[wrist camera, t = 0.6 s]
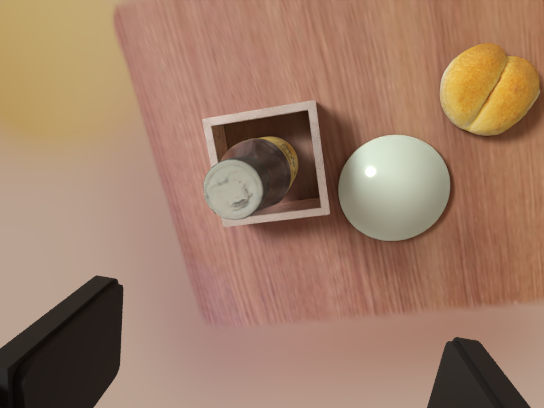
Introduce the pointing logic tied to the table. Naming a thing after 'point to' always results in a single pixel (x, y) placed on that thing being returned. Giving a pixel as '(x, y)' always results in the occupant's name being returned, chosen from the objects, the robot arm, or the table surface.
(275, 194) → the sauce bottle
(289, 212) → the square storage bin
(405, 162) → the saucer
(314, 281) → the table surface
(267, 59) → the table surface
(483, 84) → the bread roll
